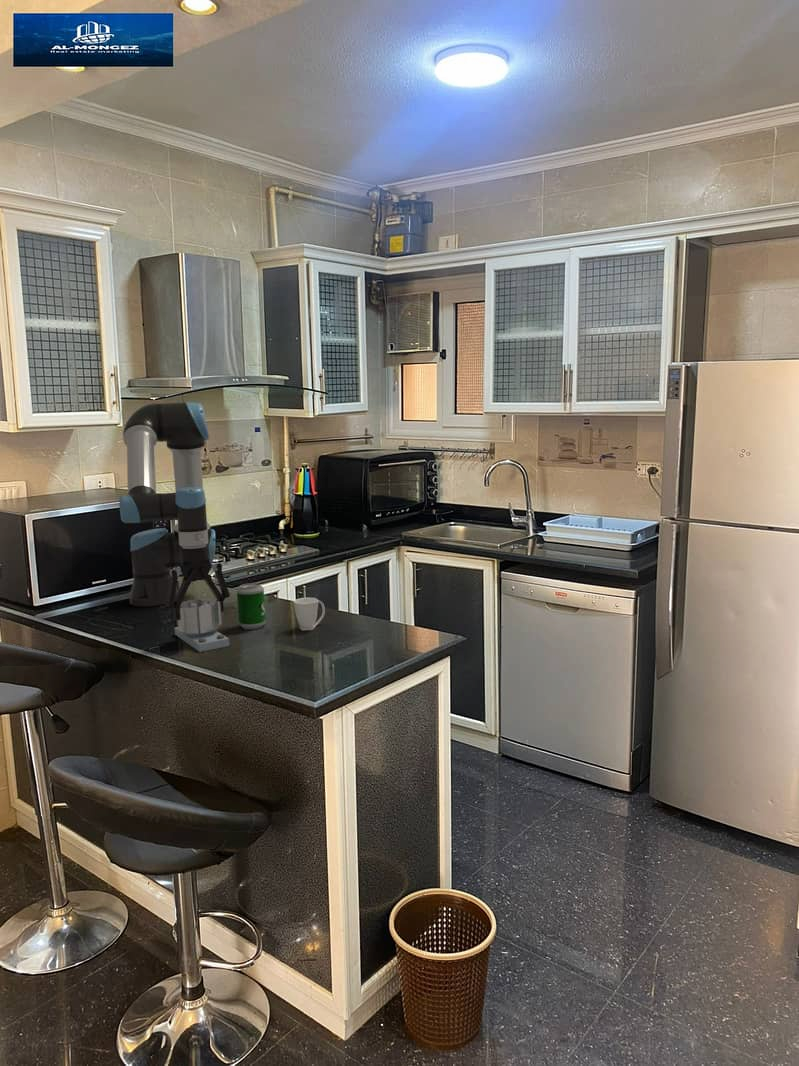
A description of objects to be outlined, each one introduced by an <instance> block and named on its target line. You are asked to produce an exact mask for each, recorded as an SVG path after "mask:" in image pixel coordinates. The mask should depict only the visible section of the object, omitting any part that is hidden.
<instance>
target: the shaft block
mask: <svg viewBox="0 0 799 1066" xmlns="http://www.w3.org/2000/svg"><path fill="white" fill-rule="evenodd" d="M174 635H175V636H177V637H178V638H179V639H181V640H182V641H184V642H185V643H187V644H188V645H189V646H191V647H192V648H193V649H195V650H196V651H197V652H199V653H202V651H203V652H207V651H212V650H217V649H221V648H226V647H230V639H229V638H228V636H226V635H224V634H222V633H221V632H219V631H217V629H216V630H214V631H211V632H206V633H199V634H191V633H184V632H181V631H179V626H177V627H174Z"/></svg>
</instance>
